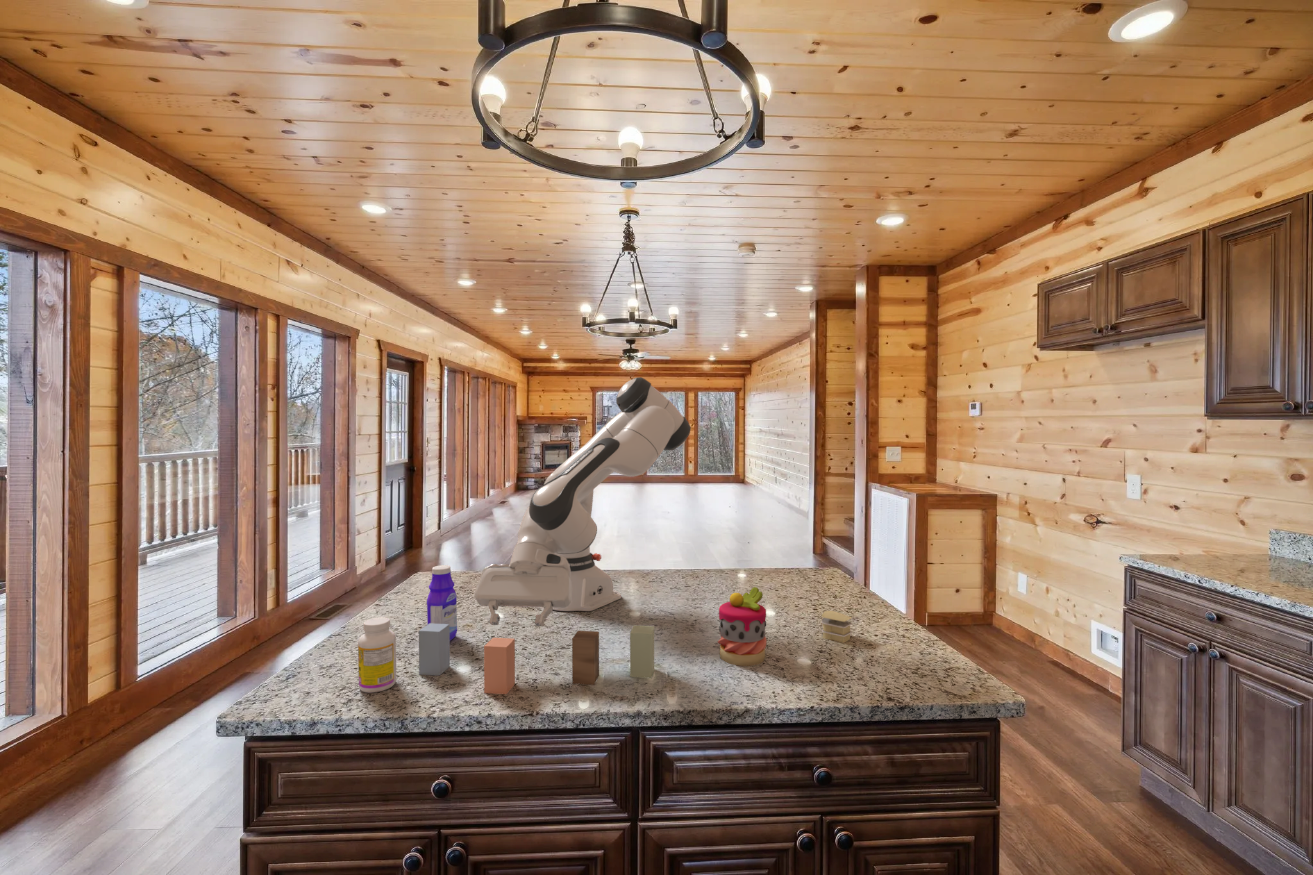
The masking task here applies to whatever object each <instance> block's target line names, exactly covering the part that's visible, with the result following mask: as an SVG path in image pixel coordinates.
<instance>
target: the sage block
mask: <svg viewBox="0 0 1313 875" xmlns="http://www.w3.org/2000/svg"><path fill="white" fill-rule="evenodd" d="M629 641H630V642H629V645H630V646H629V657H630V658H629V667H630V668H629V676H630V677H629V678H639V679H641V678H643V679H644V678H645V679H652V678H653V676H654V675H653V674H654V673H655V626H653V625H633V626H632V628H631V631H630V632H629Z"/></svg>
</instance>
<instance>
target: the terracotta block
mask: <svg viewBox="0 0 1313 875" xmlns="http://www.w3.org/2000/svg"><path fill="white" fill-rule="evenodd" d="M515 639H516V638H513V637H511V638H509V637H508V638H507V637H492V638H491V639H490V640H489V641H488V642H487V643H486V644H485V645H483V660H484V661H483V663H484V664H483V665H484V666H483V668H484V670H483V672H484V673H483V675H484V678H483V679H484V680H483V684H484V685H483V686H484V687H483V688H484V690H483V692H484V694H496V695H508V693H509V692H510V691H511V690H512V688H514V686H515V684H516V640H515Z"/></svg>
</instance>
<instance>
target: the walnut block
mask: <svg viewBox="0 0 1313 875" xmlns="http://www.w3.org/2000/svg"><path fill="white" fill-rule="evenodd" d="M571 646H572V649H571V650H572V651H571V659H572V660H571V661H572V662H571V663H572V664H571V665H572V672H571V674H572V676H571V677H572V678H571V681H572V683H571V684H572V685H585V686H586V685H587V686H595V685H596V682H597V680H598V678H599V676H600V631H595V630H593V631H591V630H577V631H576V633H575V634H574V635H573V637H572V639H571Z"/></svg>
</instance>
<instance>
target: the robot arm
mask: <svg viewBox="0 0 1313 875" xmlns="http://www.w3.org/2000/svg"><path fill="white" fill-rule="evenodd" d="M615 400H616V403H615V404H616V405H617V407H618V409H619V410H620V412H618V413H617V414H616V415H615V416H614V417H612V418H611V419H610V420H609V421H608V422H607V423H605V425H604V426H603V427H601V428H600V429H599V430H598V431H597V432H596V433H595V434H594V435H593V436H592V437H591V438H590V439H589V440H588V441H587V442H586V443H585V444H584V445H583V446H582V447H580V448H579V449H578V450H576V452H574V453H573V454H572V455H570V456H569V457H568V458H567V459H566V460H565V461H564V462H563V463H561V464H560V465H559V466H558V467H557V468H556V469H555V470H553V472H551V474H549V475H548V477H547V478H546V479H545V481H544V483H543V485H541V486H540V487H539V488H538V489H536V490H535V492H533V494H532V496H531V498H530V501H529V506H528V507H527V509H525V512H524V515H523V516H522V519H521V522H520V524H519V529H518V532H517V533H518V534H517V537H518V538H517V542H516V544H515V545H514V547H513V550H512V555H511V558H510V562H509V563H506V564H505V563H503V564H502V563H501V564H498V563H492V564H490V565H488V566H486V567H485V568H483V569H482V572H481V575H480V579H479V581H478V583H477V586H476V589H475V591H474V598H475V600H476V602H477V603H478V604H479V606H482V607H488V609H489V612H490V617H489V624H490V625H491V626H499V625H500V621H501V616H500V615H499V613H496V611H498V609H499V607H518V608H519V607H520V608H521V607H525V608H528V607H529V608H530V607H531V608H544V609H543V610H542V611H541V613H540V614H536V616H535V620H534V625H535V626H536V627H544V625H545V622H546V619H547V618H548V617H549V615H550V614H552V613H553V610H554V611H561V612H574V611H575V612H576V611H578V612H579V611H580V612H581V611H582V612H593V611H595V610H597V609H598V608H601V607H604V606H607V605H608V604H611V603H614V602H615V601H616V602H617V601H618V600H620V599H622V594H621V593H620V592H619V591H617V590H615V589H614V583H613V580H612V577H611V576H610V575H609V574H608V573H607V572H605V571H604V570H602V569H601V568H600V567H598V566H597V565H596V563H595V561H596V562H600V561H601V559H602V555H601V553H597V552H595V553H594V554H593V553H592V552H591V545H592V544H593V543H594V541H595V539H596V538H597V537H596V536H597V533H598V526H597V524H596V522H595V521H594V518H592V511H593V502H594V489H595V488H597V487H598V486H599V485H600V484H601V483H602V482H604V481H605V480H606V479H607V478H608V477H609V476H611V474H614V472H615V473H617V474H619V475H622V476H626V477H638V476H641V475H644V474H645V473H646V472H647V471H648V470H649V469H651V468H652V466H653V465H654V463H655V462H656V460H658V459H659V457H660V455H661V454H662V453H663V451H668V452H669V451H670V452H671V451H674V450H676V449H677V448H679V447H680V446H682V445H683V444H684V443H685V442H686V441H687V439H688V438H689V435H690V433H691V428H692V427H691V425H690V423H689V421H688V420H687V418H686V417H685V416H683V415H682V413H681V412H680V411H679V410H678V408H677V407H676V406H675V405H674V404H673V402H672V401H671V400H670V399H668V398H667V397H666V396H664V394H662V393H661V392H660V391H659V390H658V389H656V388H655V387H654V386H653V385H652V383H651V382H650V381H648V380H647V379H645V378H644V377H641V376H640V377H639V376H638V377H634V378H632V379H630V380H628V381H627V382H625V383H624V384H623V385H622V386H621V387H620V389H619V391H618V393H617V395H616V397H615Z"/></svg>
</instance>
